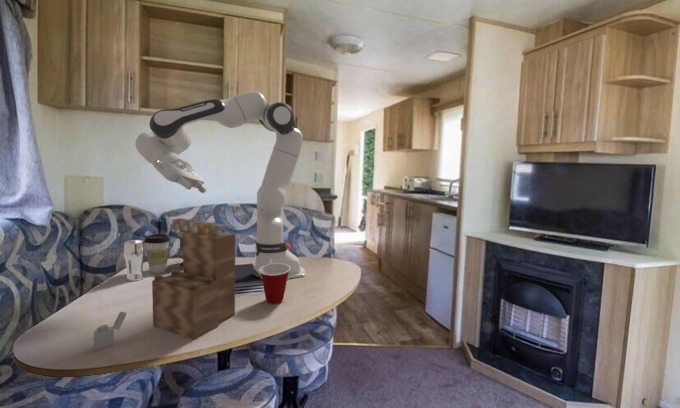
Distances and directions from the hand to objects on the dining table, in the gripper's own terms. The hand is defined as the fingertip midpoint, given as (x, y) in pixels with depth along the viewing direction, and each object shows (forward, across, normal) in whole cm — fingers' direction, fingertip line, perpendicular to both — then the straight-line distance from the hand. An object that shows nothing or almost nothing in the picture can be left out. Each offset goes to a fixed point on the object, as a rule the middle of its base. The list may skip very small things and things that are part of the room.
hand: (197, 189), depth 126 cm
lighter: (+26, -31, +37) cm, 55 cm away
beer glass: (-3, +13, +46) cm, 49 cm away
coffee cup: (-3, +24, +44) cm, 50 cm away
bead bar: (+17, -15, +6) cm, 23 cm away
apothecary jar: (+2, +36, +37) cm, 52 cm away
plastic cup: (+46, +5, +12) cm, 48 cm away
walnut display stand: (+35, -15, +26) cm, 46 cm away
